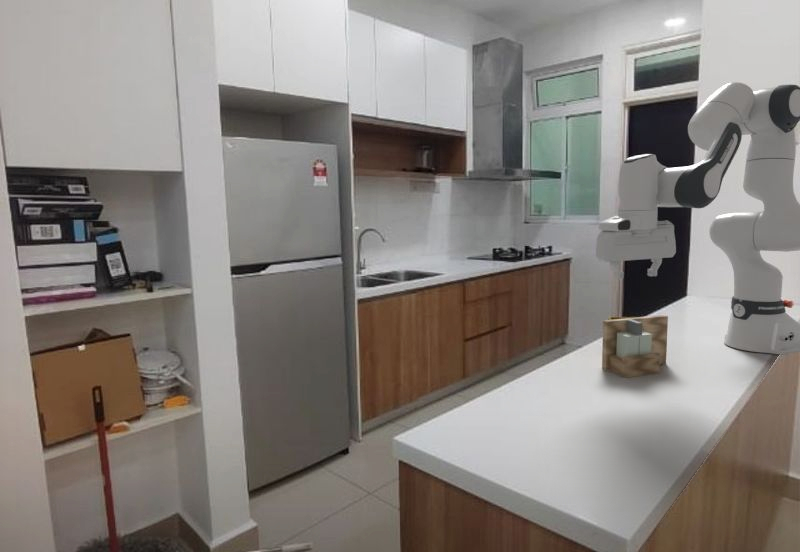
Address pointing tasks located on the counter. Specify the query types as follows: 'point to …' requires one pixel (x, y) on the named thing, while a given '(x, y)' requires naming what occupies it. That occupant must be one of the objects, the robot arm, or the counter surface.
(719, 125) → the robot arm
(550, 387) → the counter surface
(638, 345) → the pale green box
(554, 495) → the counter surface
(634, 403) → the counter surface
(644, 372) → the wall board
